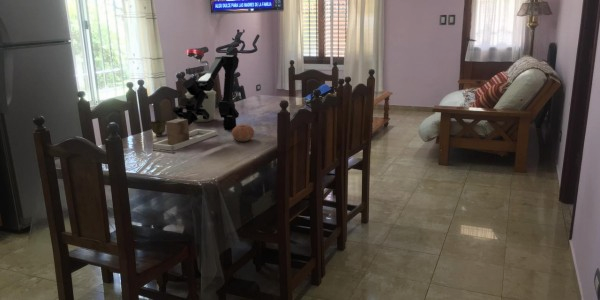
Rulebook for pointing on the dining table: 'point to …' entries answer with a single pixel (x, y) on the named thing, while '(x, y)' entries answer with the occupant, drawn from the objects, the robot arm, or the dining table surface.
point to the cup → (158, 127)
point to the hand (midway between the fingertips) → (183, 127)
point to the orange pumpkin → (243, 133)
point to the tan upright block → (177, 131)
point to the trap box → (165, 146)
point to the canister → (207, 105)
